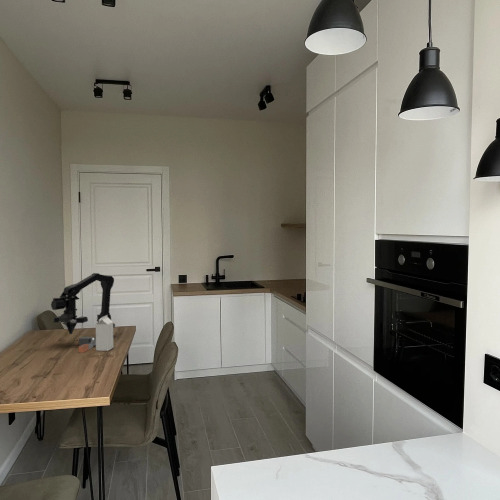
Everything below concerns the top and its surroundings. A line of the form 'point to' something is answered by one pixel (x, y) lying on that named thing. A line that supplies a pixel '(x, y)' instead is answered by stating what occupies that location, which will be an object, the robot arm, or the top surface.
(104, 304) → the robot arm
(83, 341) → the dark-topped grey cube
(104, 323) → the milk carton
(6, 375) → the top surface
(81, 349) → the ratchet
